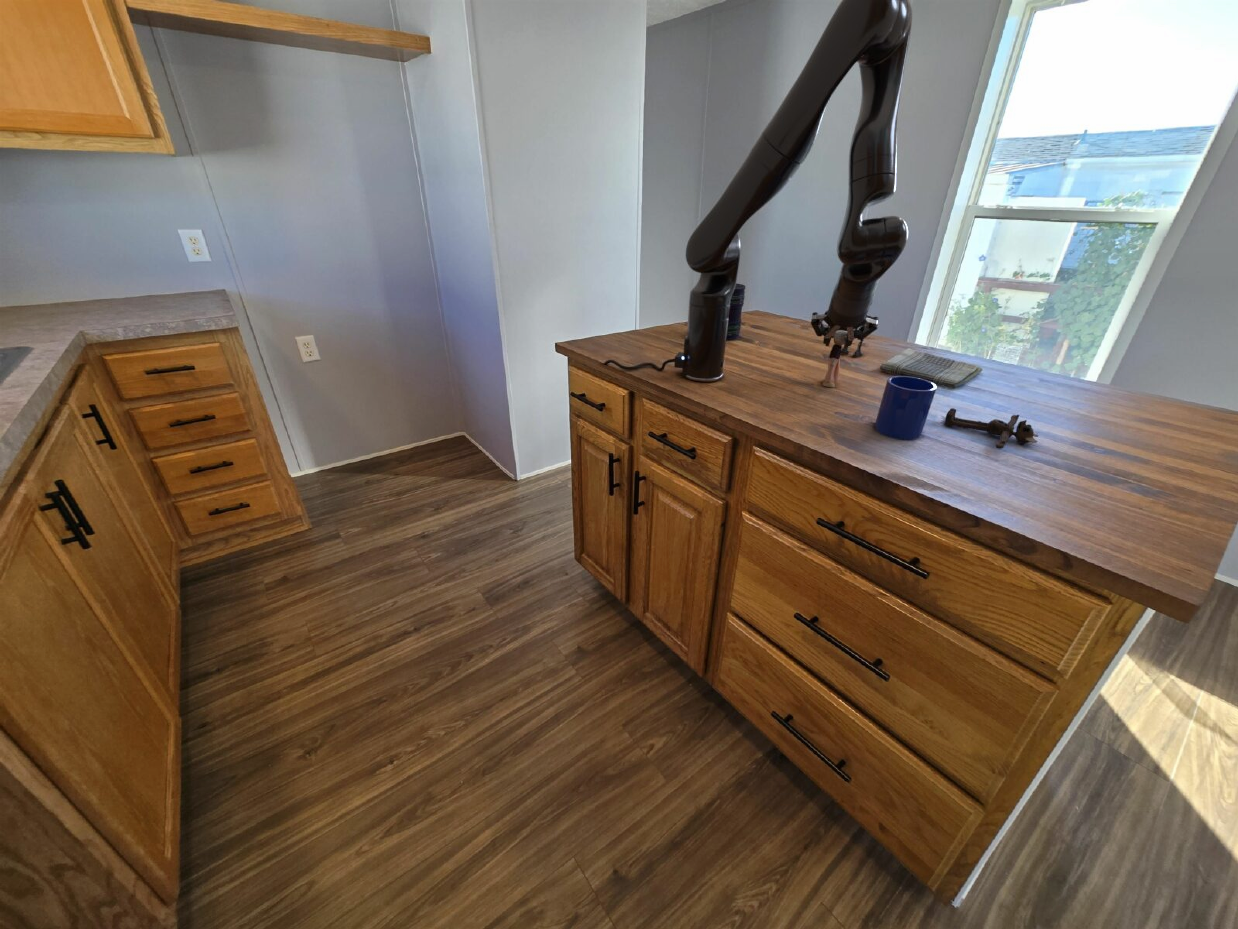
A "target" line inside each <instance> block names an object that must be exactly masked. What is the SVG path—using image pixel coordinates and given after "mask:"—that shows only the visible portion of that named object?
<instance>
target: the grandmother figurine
mask: <svg viewBox="0 0 1238 929" xmlns="http://www.w3.org/2000/svg"><path fill="white" fill-rule="evenodd" d="M846 336H847V331H842V330H839V331H836V333H835V334H834V335H832V336H831V339H833V343H834V344H833V345H832V347H831V350H830V352H829V355H828V362H827V370H826V374H825V377H824V379H822V386H824V387H827V388H835V387H836V383H838V382H839V379H840V372H841V371H840V369H841V368H840V367H841V359H840V358H841V355H842V353H841V350H842V348H843V346H844V343H845V342H846Z"/></svg>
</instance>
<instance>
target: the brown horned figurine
mask: <svg viewBox="0 0 1238 929" xmlns="http://www.w3.org/2000/svg"><path fill="white" fill-rule="evenodd" d="M956 414H957V409H956V408H954V407H952V408H950V409H949V410H948V412H947V413H946V415H945V418H944V425H945V426H947V427H957V428H962V429H963V430H965V429H967V430H968V429H970V430H976V431H980V432H985V433H987V434H988V435H990V436H996V437H997V436H999V437H1000V438H999V440H998V442H996V443H995V448H996V449H999V450H1000V449H1004V448H1005V446H1006V444H1007V441H1008V439H1009V438H1011V437H1013V436H1014V437H1015V439H1016V441H1017V442H1018V443H1020V444H1028V443H1033V444H1036V443H1038V440H1037V439H1035V438H1034V437H1036V438H1038V437H1039V435H1038V434H1036V433H1035V432H1034V428H1033V427H1032V425H1031V424H1027V419H1025V420H1021V421H1019V422H1018V420H1019V418H1020V414H1013V415H1010V416H1011V417H1010V420H1009V421H1008V422H1005V421H1003V420H1001V419H998V418H995V419H992V420H990V421H989V422H984V421H981V420H972V419H965V418H961V417H958V416H957V417H956ZM1017 422H1018V423H1017ZM1016 424H1017V425H1016ZM1015 425H1016V430H1015ZM1014 430H1015V431H1014Z"/></svg>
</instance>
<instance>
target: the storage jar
mask: <svg viewBox="0 0 1238 929" xmlns="http://www.w3.org/2000/svg"><path fill="white" fill-rule="evenodd" d="M745 290H746V285H744V284H741V283H736V286H735V290H734V292H733V294H732V296H731V300H730V309H729V318H728V328H727V337H726V342H731V341H737V340H739V339H740V333H741V328H742V322H743V321H742V318H741V317H742V312H743V307H744V304H745V303H744V301H745V297H746V296H745V293H746V291H745Z"/></svg>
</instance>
